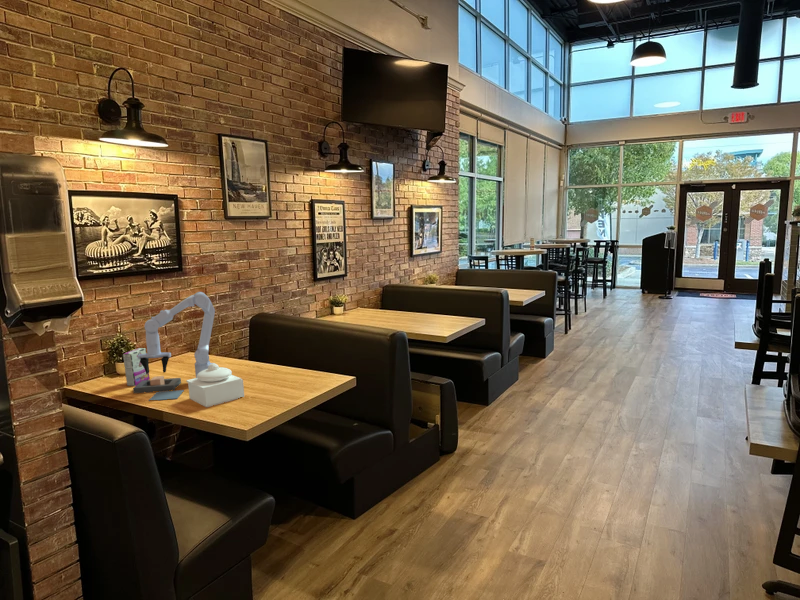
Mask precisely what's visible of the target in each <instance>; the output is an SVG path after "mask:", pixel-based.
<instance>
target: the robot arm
mask: <svg viewBox="0 0 800 600" xmlns="http://www.w3.org/2000/svg"><path fill="white" fill-rule="evenodd" d="M196 306H197V307H199V308H200V309H201V310H202V311H203V312H204V314H203V319H202V323H201V324H202V326H201V330H200V336H199V341H198V345H197V349H196V350H195V352H194V358H195V363H194V370H195V371H194V372H195V378H197V377H196V376H197V374H198V373H199V372H201V371H203V370H205V369H208V366H209V365H210V364H213V363H214V364H216V363H215V362H211V361H210V355H209V351H210V350H209V349H210V348H209V347H210V342H211V341H210V340H211V335H212V330H213V325H214V320H215V312H216V310H215V307H214V305H213V303H212V301H211V299H210V298H209V296H208V295H206V294H205V292H203V291H197V292H196V293H194V294H192V295H189V296H188V297H186V298H184V299H183V300H182V301H180V302H179V303H178V304H176V305H175V306H173V307H172V308H170V309H164V310H163V309H162V310H160V311H159V313H158V314H156V315H155V316H151V318H150V319H148V320H146V321H145V323H144V330H145V342H146V343H145V344H146V354H139V355H138V359H140V363H141V364H142V365H143V367H144V369H145V371H146V374H148V373H149V374H150V366H149V365H150V364H149V359H157V358H161V360H160V361H161V363H162V372H163V374H164V373H166V372H167V366H168V362H169V360H170V358H171V357H172V353H171V352H170V351H169V352H166V351H165V352H162V351H161V343H160V342H161V341H160V334H159V328H163V326H165V325H166V324H168V323H169V322H171V321H173V319H174V316H175V315H177V314H179V313H180V312H181V311H183V310H185V309H187V308H188V307H196Z"/></svg>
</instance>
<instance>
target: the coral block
mask: <svg viewBox="0 0 800 600" xmlns="http://www.w3.org/2000/svg"><path fill="white" fill-rule="evenodd" d="M164 379H165V376H164V375H160V376H159V375H158V376H153V377H152V378H151V379H149V380H150V384H151V385H165V382H164Z"/></svg>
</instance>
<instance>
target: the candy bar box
mask: <svg viewBox="0 0 800 600" xmlns="http://www.w3.org/2000/svg"><path fill="white" fill-rule="evenodd" d="M139 354H147V347H146V348H145V347H144V348H143V347H138V348H135V349H133V350H130V351H127V352H125V353H123V354H122V358H123V364H124V372H125V380H126V386H128V387H135V386H136V385H138V384H139V383H140V382H141V381H143V380H151V379H150V372H149V373H148V374H146V371H145V369H144V367H143V365H142V364H141V363H140V359H138V355H139Z"/></svg>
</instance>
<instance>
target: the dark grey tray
mask: <svg viewBox="0 0 800 600" xmlns="http://www.w3.org/2000/svg"><path fill="white" fill-rule="evenodd" d="M150 380H151V379H149V380H143V381H141V382H140V383H139V384H138V385H136V386H133V388H132V391H133V394H143V393H144V392H146V393H154V392H153V391H159V392H163V391H169V390H173V391H176V389H177V388H176V387H177V386H178V387H179V386H180V384H181V383H182V377H172V378H164V382H165V385H151V384H150ZM175 388H176V389H175ZM144 394H145V393H144Z"/></svg>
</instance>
